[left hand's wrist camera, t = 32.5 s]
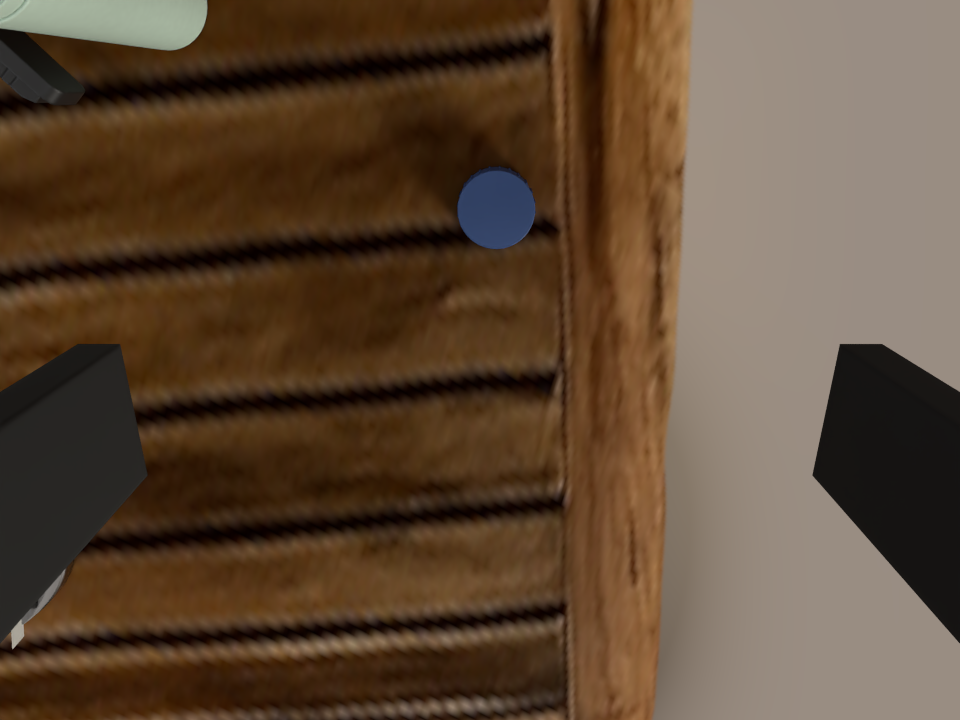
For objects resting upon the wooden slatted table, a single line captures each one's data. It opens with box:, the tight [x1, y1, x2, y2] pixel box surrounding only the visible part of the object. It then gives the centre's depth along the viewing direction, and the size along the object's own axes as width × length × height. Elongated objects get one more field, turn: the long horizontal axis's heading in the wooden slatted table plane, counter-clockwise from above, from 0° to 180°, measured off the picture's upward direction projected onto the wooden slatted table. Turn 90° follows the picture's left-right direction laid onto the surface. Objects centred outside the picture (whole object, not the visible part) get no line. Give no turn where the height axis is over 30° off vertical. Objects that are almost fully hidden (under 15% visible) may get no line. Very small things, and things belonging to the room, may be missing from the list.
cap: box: [457, 166, 536, 249], centre depth 34 cm, size 4×4×2 cm
